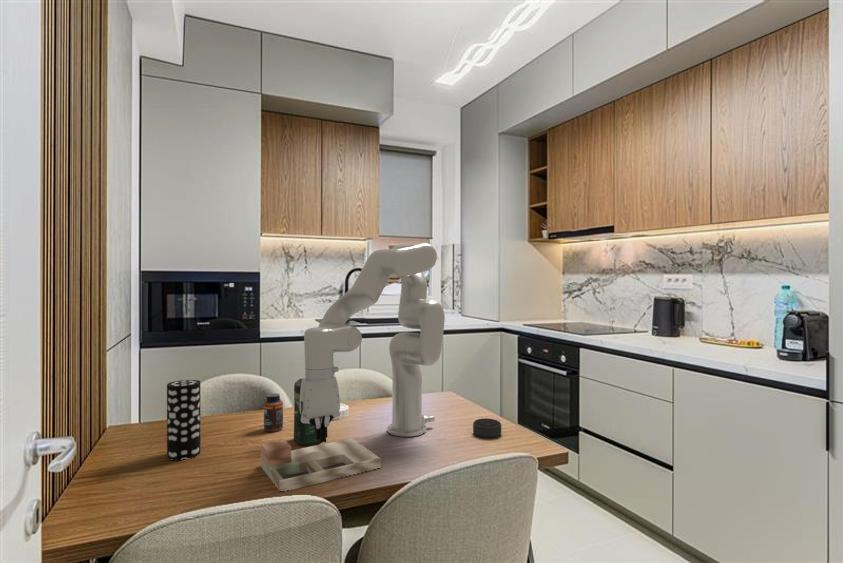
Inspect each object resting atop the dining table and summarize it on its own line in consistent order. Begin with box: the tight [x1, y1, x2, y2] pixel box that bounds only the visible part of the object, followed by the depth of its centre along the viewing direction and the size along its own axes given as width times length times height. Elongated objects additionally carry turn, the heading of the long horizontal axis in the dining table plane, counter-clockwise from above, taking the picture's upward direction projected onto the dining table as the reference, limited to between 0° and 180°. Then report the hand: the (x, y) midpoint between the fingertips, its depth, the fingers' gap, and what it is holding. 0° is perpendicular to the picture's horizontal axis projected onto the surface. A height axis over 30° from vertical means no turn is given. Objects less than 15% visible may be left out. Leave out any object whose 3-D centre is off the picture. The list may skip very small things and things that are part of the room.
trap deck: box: [259, 438, 382, 492], centre depth 123 cm, size 26×18×2 cm
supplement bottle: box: [263, 393, 284, 433], centre depth 153 cm, size 6×6×11 cm
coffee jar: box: [293, 377, 322, 446], centre depth 143 cm, size 10×8×19 cm
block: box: [260, 439, 292, 467], centre depth 121 cm, size 6×6×4 cm
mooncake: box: [332, 402, 350, 421], centre depth 169 cm, size 12×12×4 cm
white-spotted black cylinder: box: [166, 379, 202, 460], centre depth 131 cm, size 8×8×20 cm
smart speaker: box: [472, 417, 502, 439], centre depth 150 cm, size 9×9×4 cm
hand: (321, 441), depth 127 cm, fingers closed
